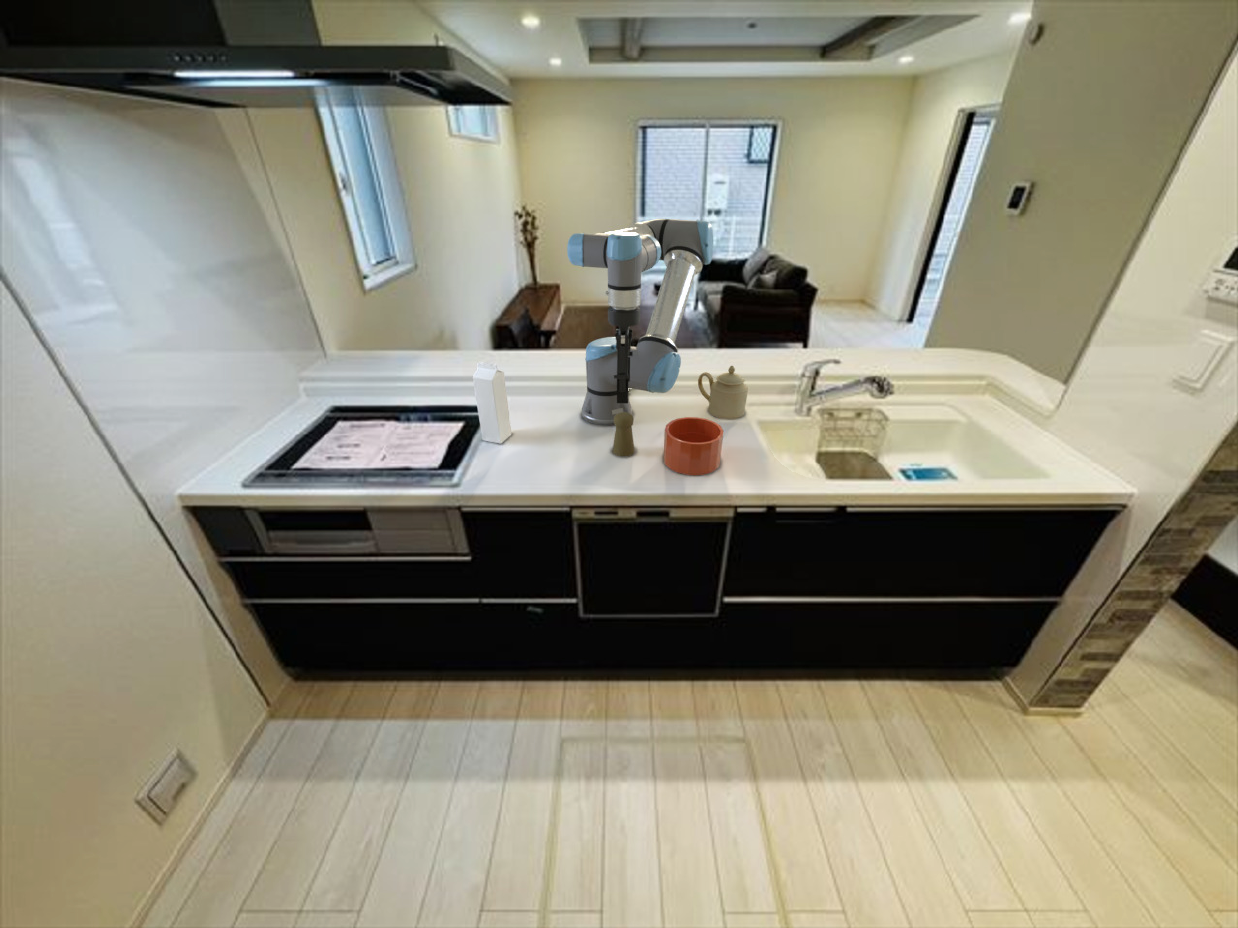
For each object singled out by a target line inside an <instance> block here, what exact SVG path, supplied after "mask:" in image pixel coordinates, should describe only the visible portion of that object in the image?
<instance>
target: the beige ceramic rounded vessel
mask: <svg viewBox="0 0 1238 928" xmlns="http://www.w3.org/2000/svg"><path fill="white" fill-rule="evenodd" d="M727 371H728V372H723V373H721V374H719V375H717V377H716V380H714V378H713V376H712V374H711V373H710V372H702V373H700V375H699V376H698V379H697V386H698V390H699V392H700V393H701V395H702V396H703V397H704V398H705V399H706V400H707V402H708V412H709V414H711V416H714V417H716V418H719V419H724V420H736V419H739V418H741V417H743V416H744V415H745V410H746V407H747V406H746V405H747V401H748V400H747V399H748V391H749V387H748V385H747V384H746V383H745V382H746V379H745V378H744V377H743V376H741V375H740V374H738V373H736V372H735V371H736V368H735V367H734V365H730V366H729V367H728V370H727ZM703 377H706V378H707V379H708V383H709V390H710V391H709V392H710V393H709V394H708V393H707V391H706V390H705V388H704V384H703Z"/></svg>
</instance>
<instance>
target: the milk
mask: <svg viewBox="0 0 1238 928" xmlns="http://www.w3.org/2000/svg"><path fill="white" fill-rule="evenodd" d="M476 366H477V368H476V370H475V372H474V373H473V375H472V381H473V382H472V383H473V389H474V396H475V402H476V407H477V415H478V420H479V421H478V422H479V427H480V432H481V440H482V441H484V442H490V443H495V444H500V445H501V444H502V443H504V442H505V441H506V440H507V439H508V438H509V437H510V436H511V435H512V426H511V417H510V409H509V402H508V396H507V395H508V394H507V393H508V392H507V386H506V379H505V378H506V377H505V372H504V371H502V370H499V369H498V365H497V364H496V363H489V362H483V361H477V362H476Z"/></svg>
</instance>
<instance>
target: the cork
mask: <svg viewBox="0 0 1238 928" xmlns="http://www.w3.org/2000/svg"><path fill="white" fill-rule="evenodd" d="M614 424H615V425H614V426H615V429H614V437H613V444H612V454H613V455H615V456H617V457H621V458H622V457H624V458H627V457H630V456H633V455H634V454H635V443H634V434H633V427H632V426H633V425H634V416H633V414H632V415H631V414H630V413H627V412H620V413H618V414H616V415H615V417H614Z"/></svg>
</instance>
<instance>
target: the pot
mask: <svg viewBox="0 0 1238 928" xmlns="http://www.w3.org/2000/svg"><path fill="white" fill-rule="evenodd" d="M663 436H664V439H663V455H662V457H663V462H664V464H665V466H666V467H667V468H668V469H670V470H671V471H673V472H675V473H678V474H682V475H686V476H704V475H708V474H711V473H713V472H714V471H716V470H717V469H718V468H720V467H719V466H720V465H721V457H722V456H721V455H722V449H723V439H724V429H723V427H722V426H721V425H720V424H718V423H717V422H715V421H713V420H710V419H708V418H703V417H697V416H685V417H679V418H675V419H673V420H670V421H669V422H668V423H667V424H665V428H664V435H663Z"/></svg>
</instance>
